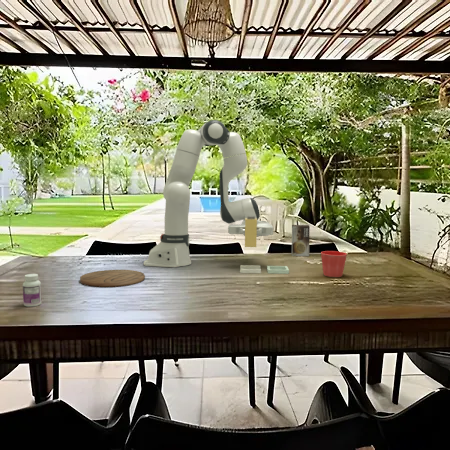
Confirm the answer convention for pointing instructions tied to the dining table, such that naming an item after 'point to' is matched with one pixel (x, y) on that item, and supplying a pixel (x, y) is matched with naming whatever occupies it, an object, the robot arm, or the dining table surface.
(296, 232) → the coffee box
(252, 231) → the tan tall block
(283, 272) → the socket
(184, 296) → the dining table surface
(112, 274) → the trivet
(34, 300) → the pill bottle
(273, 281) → the dining table surface
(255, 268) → the socket
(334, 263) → the flower pot
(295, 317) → the dining table surface
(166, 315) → the dining table surface
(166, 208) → the robot arm
